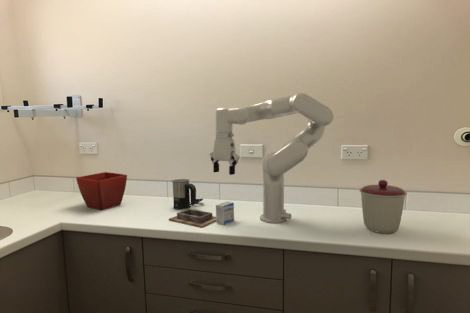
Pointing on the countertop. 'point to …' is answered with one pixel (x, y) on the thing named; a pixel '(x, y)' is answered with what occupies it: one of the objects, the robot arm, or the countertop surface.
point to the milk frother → (184, 194)
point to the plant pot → (102, 189)
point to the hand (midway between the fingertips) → (224, 173)
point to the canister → (382, 207)
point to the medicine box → (225, 213)
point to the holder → (194, 218)
